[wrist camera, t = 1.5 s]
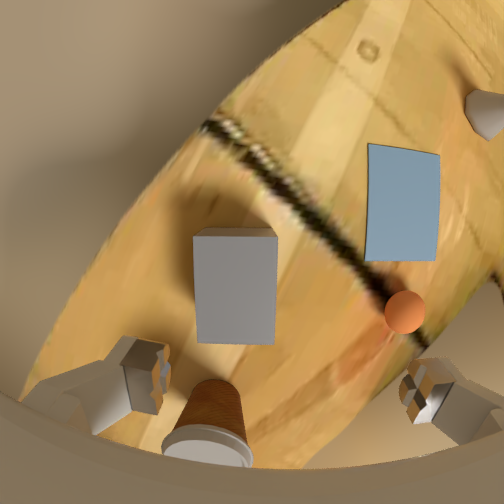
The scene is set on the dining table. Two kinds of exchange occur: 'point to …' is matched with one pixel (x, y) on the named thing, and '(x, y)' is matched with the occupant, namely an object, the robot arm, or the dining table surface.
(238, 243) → the plain grey carton
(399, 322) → the ball
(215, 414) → the disposable coffee cup
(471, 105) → the flask
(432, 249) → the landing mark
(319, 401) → the dining table surface
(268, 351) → the dining table surface
